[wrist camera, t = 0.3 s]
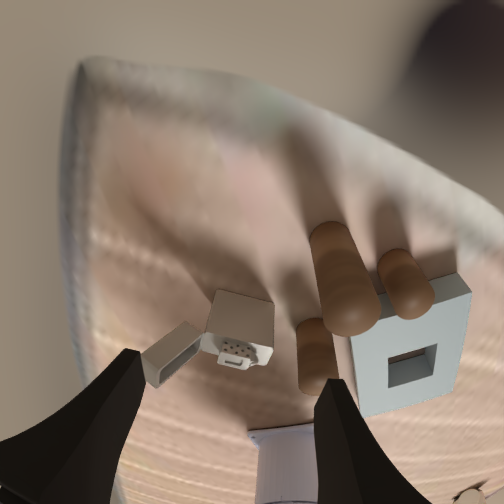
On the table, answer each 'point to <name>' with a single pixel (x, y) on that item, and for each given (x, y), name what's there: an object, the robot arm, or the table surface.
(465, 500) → the spread jar
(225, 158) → the table surface
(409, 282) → the short dowel
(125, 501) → the table surface
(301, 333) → the medium dowel
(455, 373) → the socket block
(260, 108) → the table surface
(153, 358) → the lighter
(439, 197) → the table surface
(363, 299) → the tall dowel
